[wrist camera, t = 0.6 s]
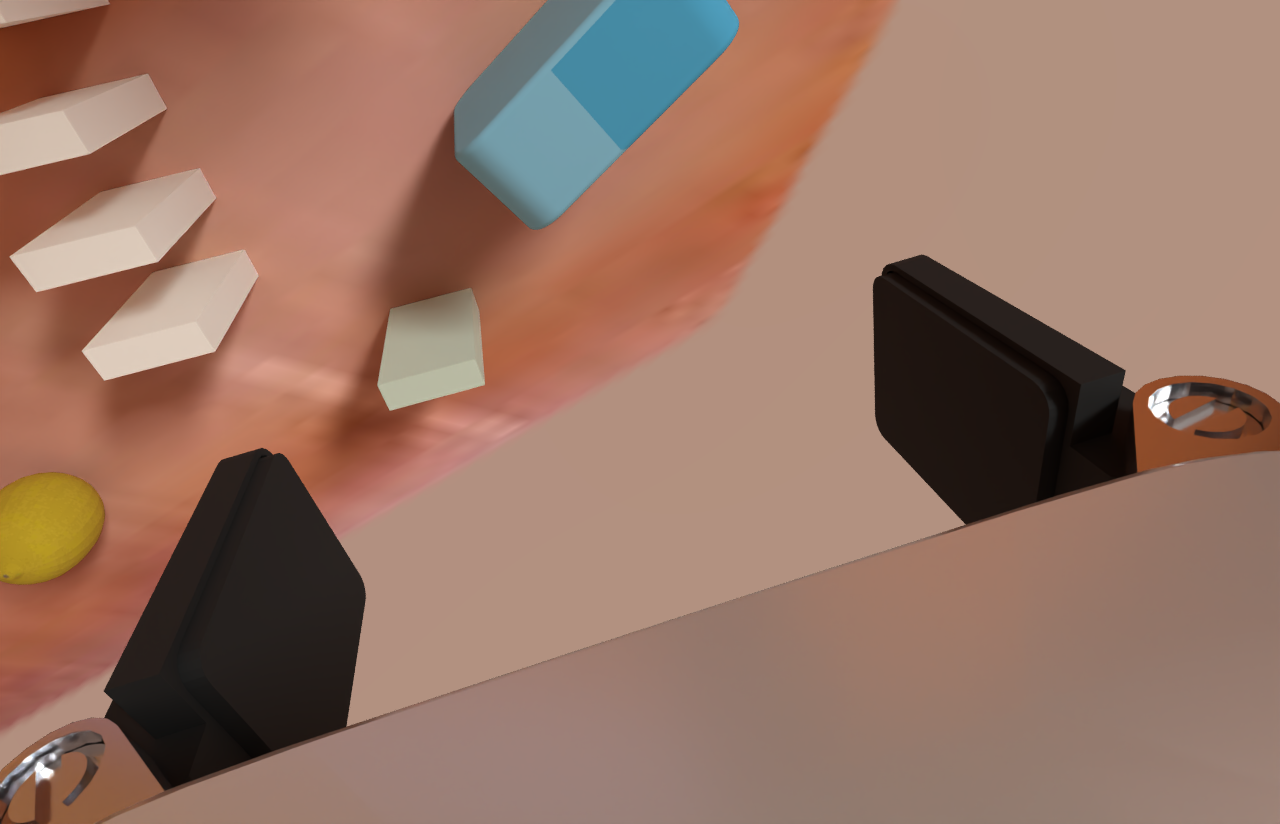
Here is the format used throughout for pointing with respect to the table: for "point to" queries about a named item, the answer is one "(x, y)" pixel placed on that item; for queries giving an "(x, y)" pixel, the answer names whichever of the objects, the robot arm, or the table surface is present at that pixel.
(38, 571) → the lemon
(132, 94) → the tile
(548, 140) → the data package
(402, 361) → the tile
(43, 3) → the tile
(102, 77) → the table surface
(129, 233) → the tile
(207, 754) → the robot arm
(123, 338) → the tile
